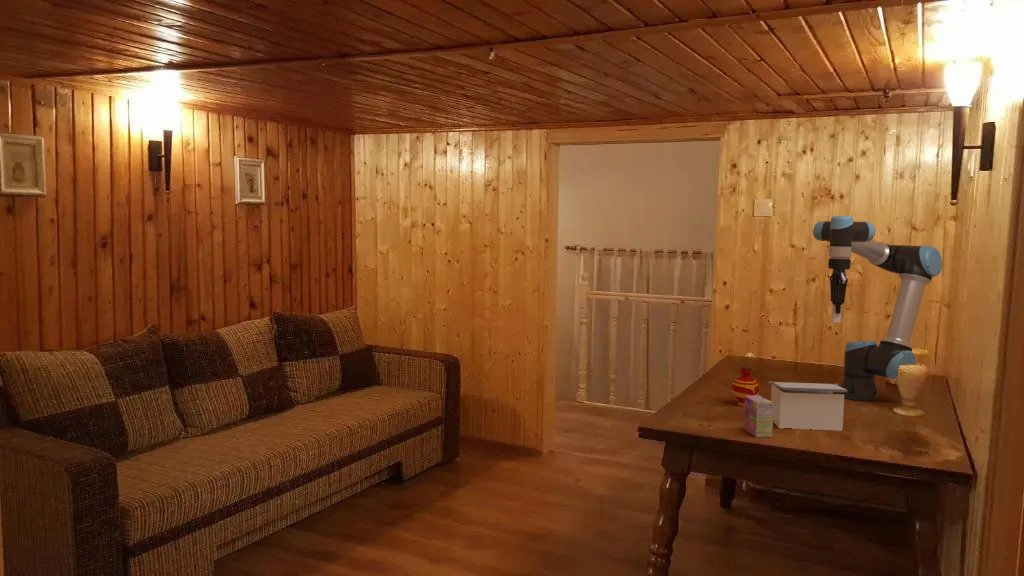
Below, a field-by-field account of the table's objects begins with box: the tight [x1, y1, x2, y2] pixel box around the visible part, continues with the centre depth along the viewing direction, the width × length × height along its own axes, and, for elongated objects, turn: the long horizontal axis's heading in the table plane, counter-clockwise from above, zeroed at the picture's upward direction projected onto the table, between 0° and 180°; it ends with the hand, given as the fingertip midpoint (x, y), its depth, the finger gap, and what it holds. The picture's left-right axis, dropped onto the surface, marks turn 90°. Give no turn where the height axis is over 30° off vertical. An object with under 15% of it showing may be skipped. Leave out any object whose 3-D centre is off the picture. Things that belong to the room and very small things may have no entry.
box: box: [743, 395, 774, 438], centre depth 256 cm, size 10×6×12 cm, turn 5°
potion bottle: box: [730, 365, 760, 408], centre depth 295 cm, size 10×10×15 cm
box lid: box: [772, 381, 847, 393], centre depth 266 cm, size 21×14×1 cm
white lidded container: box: [767, 380, 845, 432], centre depth 268 cm, size 24×14×14 cm, turn 85°
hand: (836, 321), depth 282 cm, fingers closed
